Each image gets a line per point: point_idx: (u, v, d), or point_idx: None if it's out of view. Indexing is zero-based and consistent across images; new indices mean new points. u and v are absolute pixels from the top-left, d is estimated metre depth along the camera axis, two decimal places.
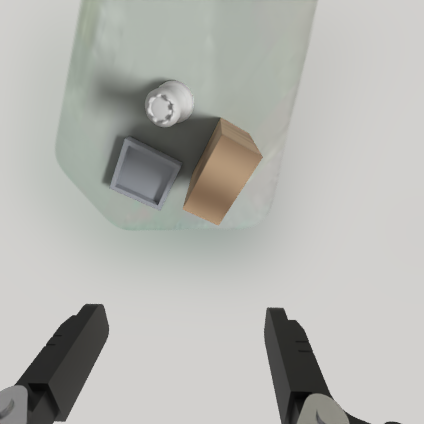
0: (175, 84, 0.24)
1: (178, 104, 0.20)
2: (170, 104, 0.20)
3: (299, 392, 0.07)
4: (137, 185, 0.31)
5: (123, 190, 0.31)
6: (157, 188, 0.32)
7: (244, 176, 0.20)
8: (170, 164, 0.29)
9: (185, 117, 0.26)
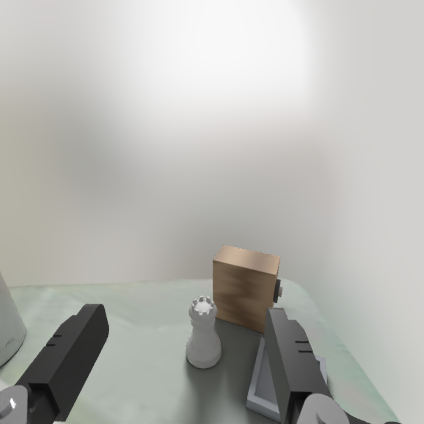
0: (188, 340, 0.28)
1: None
2: (199, 301, 0.26)
3: (299, 392, 0.07)
4: None
5: None
6: None
7: (237, 249, 0.32)
8: (262, 346, 0.27)
9: None
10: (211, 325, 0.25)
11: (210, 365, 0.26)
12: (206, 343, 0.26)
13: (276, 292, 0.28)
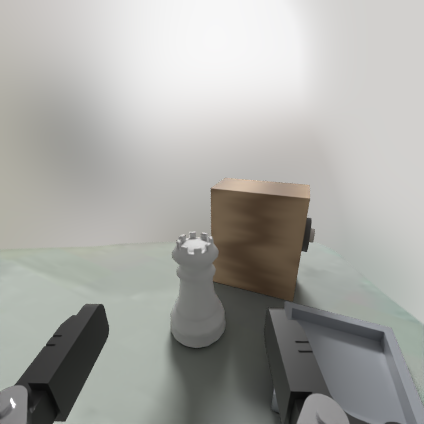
0: (174, 305, 0.18)
1: None
2: (189, 239, 0.16)
3: (299, 392, 0.07)
4: (376, 388, 0.14)
5: (413, 411, 0.12)
6: (353, 346, 0.16)
7: (245, 181, 0.22)
8: (288, 313, 0.18)
9: None
10: (209, 275, 0.15)
11: (208, 342, 0.16)
12: (201, 305, 0.16)
13: (307, 232, 0.19)
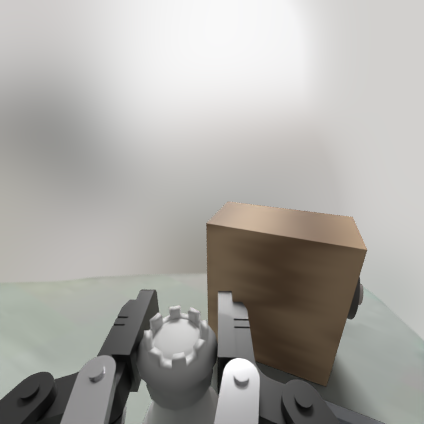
0: (147, 413, 0.11)
1: None
2: (169, 321, 0.10)
3: (226, 358, 0.08)
4: None
5: None
6: None
7: (257, 207, 0.15)
8: None
9: (210, 387, 0.12)
10: (201, 390, 0.09)
11: None
12: None
13: (355, 295, 0.12)
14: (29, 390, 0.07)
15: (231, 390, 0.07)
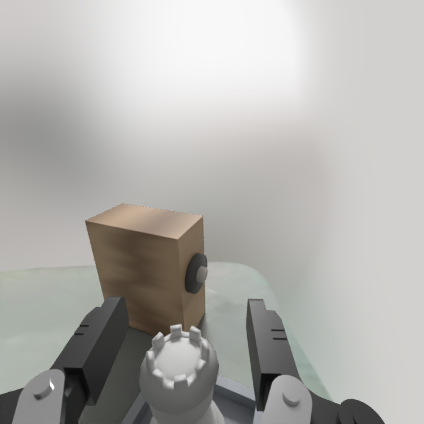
0: None
1: None
2: (170, 340, 0.10)
3: (269, 374, 0.08)
4: None
5: None
6: None
7: (139, 208, 0.19)
8: None
9: None
10: (202, 408, 0.09)
11: None
12: None
13: (189, 274, 0.16)
14: None
15: (283, 412, 0.07)
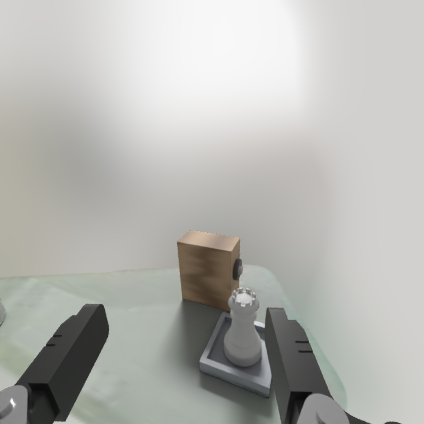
0: (226, 336, 0.26)
1: None
2: (238, 293, 0.24)
3: (299, 392, 0.07)
4: None
5: (266, 369, 0.23)
6: None
7: (202, 233, 0.34)
8: (221, 319, 0.29)
9: None
10: (253, 318, 0.23)
11: (252, 363, 0.24)
12: (248, 338, 0.24)
13: (235, 269, 0.31)
14: None
15: None
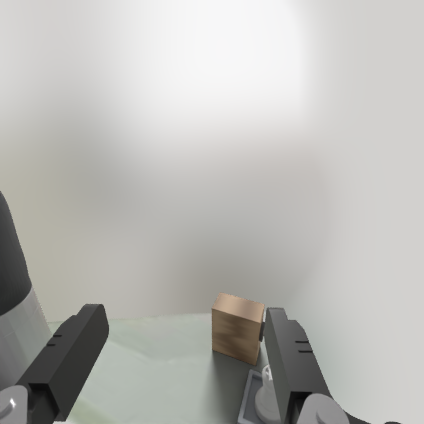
0: (257, 398, 0.32)
1: (268, 365, 0.31)
2: (269, 368, 0.30)
3: (299, 392, 0.07)
4: None
5: None
6: None
7: (231, 297, 0.40)
8: (250, 377, 0.35)
9: None
10: None
11: (279, 422, 0.30)
12: (277, 404, 0.30)
13: (261, 334, 0.36)
14: None
15: None
